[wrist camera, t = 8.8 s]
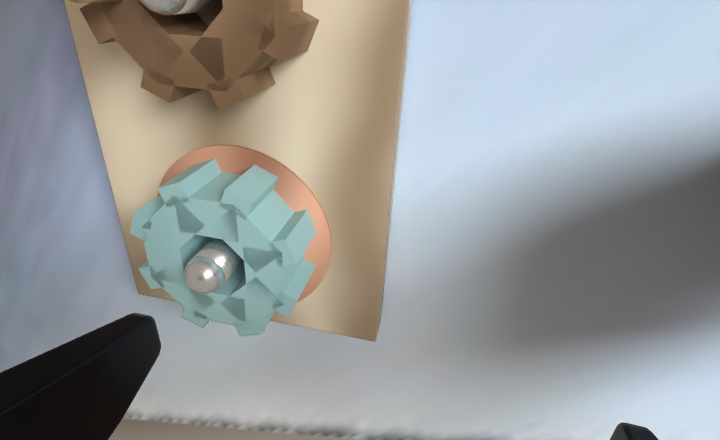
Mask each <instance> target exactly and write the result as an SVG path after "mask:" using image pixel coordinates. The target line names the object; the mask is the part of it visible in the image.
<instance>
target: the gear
mask: <svg viewBox="0 0 720 440" xmlns="http://www.w3.org/2000/svg"><path fill="white" fill-rule="evenodd" d="M70 1H72V2H75V3H89V4H87V5H85V6H84V7H82V8H80V11H81V13H82V15H83V16H84V18H85V20H86V22H87V24H88V25H89V27H90V29H91V31H92V33H93V35H94V36H95V38H96V40H97V42H98V44H102V43H109V42H115V41H116V42H117V43H118V44H119V45H120V46H121V47H122V48H123V49H124V50H125V51H126V52H127V53H128V54H129V55H130V56H131V57H132V58H133V59H134V60H135V61H136V62H137V64H138V65H139V66H140V67H141V68H142V69H143V76H142V81H141V88H143V89H145V90H147V91H149V92H150V93H152V94H154V95H156V96H158V97H160V98H162V99H163V100H165V101H167V102H169V103H171V102H173V101H176V100H178V99H181V98H184V97H186V96H189V95H191V94H194V93H196V92H199V91H201V90H204V89H206V90H210V92H211V94H212V97H213V99H214V101H215V103H216V105H217V107H218V108H221V107H224V106H227V105H230V104H233V103H236V102H238V101H241V100H244V99H247V98H249V97H251V96H253V95H255V94H257V93H259V92H261V91H262V90H264V89H266V88H268V87H270V86H272V85H274V84H276V83H275V81H274V78H273V76H272V73H271V71H270V68H269V66H270V65H271V64H272V63H273V62H274V61H275V60H276V59H278V60H279V61H283V60H286V59H288V58H291V57H293V56H296V55H298V54H301V53H303V52H306V51H308V49H309V46H310V44H311V41H312V38H313V36H314V33H315V30H316V28H317V25H318V22H319V19H317V18H315V17H313V16H311V15H310V14H308V13H306V12H304V11H303V0H222V4H223V9H222V11H221V12H220V13H219V14H218V16H217V17H216V18H215V20H214V21H213V22H212V23H211V25H210V26H209V27H208V25H207V24H206V23H205V22H204V21H203V20H202V19H201V18H200V16H199V15H198V14H197V13H185V14H175V15H163V14H158V13H156V12H154V11H151V10H150V9H148V8H147V7H145V6H144V5H143V4H142V3H141V2H140V1H139V0H70Z"/></svg>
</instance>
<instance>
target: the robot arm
mask: <svg viewBox="0 0 720 440" xmlns="http://www.w3.org/2000/svg"><path fill="white" fill-rule="evenodd" d="M160 349H161V342H160V338H159V335H158V331H157V327H156V323H155V320H154V319H153V318H152V317H151V316H148V315H144V314H139V313H132V314H129V315H127V316H125V317H123V318H120V319H118V320H116V321H114V322H111V323H109V324H107V325H105V326H103V327H100V328H98V329H96V330H94V331H92V332H89V333H87V334H85V335H83V336H81V337H78V338H76V339H74V340H72V341H70V342H67V343H65V344H63V345H61V346H59V347H56V348H54V349H52V350H50V351H47V352H45V353H43V354H41V355H39V356H36V357H34V358H32V359H30V360H28V361H25V362H23V363H21V364H19V365H17V366H14V367H12V368H10V369H8V370H6V371H3V372H1V373H0V440H108V439H109V437H110V436H111V434H112V433H113V431H114V430H115V428H116V427H117V426H118V424H119V423H120V421H121V419H122V418H123V416H124V414H125V413H126V411H127V409H128V408H129V406H130V404H131V403H132V401H133V399H134V397H135V396H136V394H137V392H138V390H139V389H140V387H141V385H142V384H143V382H144V380H145V378H146V377H147V375H148V373H149V371H150V370H151V368H152V366H153V365H154V363H155V361H156V359H157V358H158V356H159V353H160ZM610 440H658V439H657V437H656V436H655V435H654V434H653V433H652V432H651V431H650V430H649V429H647V428H645V427H642V426H637V425H633V424H629V423H620V424H618V426H617V427H616V429H615V431H614V433H613V435H612V436H611V438H610Z"/></svg>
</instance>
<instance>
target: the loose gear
mask: <svg viewBox="0 0 720 440" xmlns="http://www.w3.org/2000/svg"><path fill="white" fill-rule="evenodd" d="M277 180H278V177H277V176H275V175H273V174H271V173H269V172H268V171H266V170H264V169H262V168H260V167H258V166H257V165H253V166H252V167H251V168H250V169H249V170H247V171H246V172H245V173H244V174H243V175H236V174H229V173H223V172H221V170H220V168H219V166H218V164H217V162H216V160H215V159H211V160H208V161H204V162H201V163H198V164H194V165H192V166H191V167H189V168H188V169H186V170H185V171H183V172H182V173H180V174H178V175H177V176H175V177H174V178H172V179H171V180H169V181H168V182H166V183H165V184H163V185H162V186H160V187H158V188H157V189H158V191H159V193H160V195H159V196H158V197H156V198H155V199H153V200H152V201H150V202H149V203H147V204H146V205H144V206H143V207H142V208H140V209H139V210H137V211H136V212H134V214H133V219H132V224H131V228H130V234H132V235H134V236H136V237H138V238H140V239H142V240H143V241H144V245H145V250H146V254H147V259H148V261H146V262H145V263H144V264H143V265H142V266H141V267H139V268H138V269H139V271H140V273H141V274H142V276H143V277H144V279H145V281H146V282H147V284H148V285H149V287H150V288H151V289H156V288H163V289H164V290H166V291H167V292H168V293H169V294H170V295H171V296H172V297H173V298H174V299H175V300H176V301H178V302H179V303H180V304H181V305H182V306H183V307H184V310H183V313H182V316H181V317H183V318H185V319H186V320H188V321H190V322H192V323H194V324H196V325H198V326H200V327H202V328H204V327H205V325H206V324H207V323H208V322H209V320H211V321H216V322H220V323H225V324H230V325H234V326H235V328H236V330H237V332H238V333H239V335H240V336H248V335H257V334H262V332H263V330H264V329H265V327H266V325H267V324H268V322H269V320H270V319H271V317H272V315H273V314H274V312H275V311H277V312H279V313H280V314H282V315H284V316H286V317H289V315H290V313H291V311H292V310H293V308H294V306H295V304H296V302H297V300H298V299H299V297H300V295H301V293H302V291H303V290H304V288H305V286H306V284H307V282H308V280H309V279H310V277H311V275H312V273H313V271H314V269H315V268H316V266H317V265H315V264H313V263H311V262H309V261H307V260H306V259H304V252H305V250H306V249H307V247H308V245H309V244H310V242H311V241H312V239H313V237H314V236H315V234H316V233H317V230H316V228H315V225H314V223H313V221H312V218H311V216H310V213H309V211H308V209H306V210H302V211H297V212H294V211H293V210H292V209H291V208H290V207H289V206H288V204H287V203H286V202H285V201H284V200H283V199H282V198H281V197H280V196H279V195H278V194H277V193H276V192H275V191H274V187H275V184H276V182H277ZM212 238H218V239H223V240H224V241H225V242H226V243H227V244H228V245H229V246H230V247H231V248H232V249H233V250H234V251H235V252H236V253H237V254H238V255H239V256H240V257H241V258H242V259H243V260H244V261H243V262H242V263H241V264H240V265H239V267H238V268H237V269H236V270H235V272H234V273H233V274H232V275H231V276H230V278H229V279H228V280H227V281H226V282H225V284H224V285H223V286H222V287H221V288H220V289H219V290H217V291H215V292H213V293H210V294H200V293H197V292H195V291H193V290H192V289H191V288H190V287H189V286H188V285H187V283H186V281H185V276H184V273H185V268H186V266H187V264H188V262H189V261H190V260H191V259H192V258H193V257H194V256H195V255H196V254H197V253H198V252H199V251H200V250H201V249H202V248H203V247H204V246H205V245H206V244H207V243H208V242H209V241H210V240H211V239H212Z"/></svg>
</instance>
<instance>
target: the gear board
mask: <svg viewBox="0 0 720 440" xmlns="http://www.w3.org/2000/svg"><path fill="white" fill-rule="evenodd" d="M64 2H65V6H66V10H67V14H68V18H69V22H70V26H71V30H72V34H73V38H74V42H75V45H76V49H77V53H78V57H79V61H80V65H81V69H82V73H83V77H84V81H85V85H86V89H87V93H88V97H89V101H90V105H91V108H92V112H93V116H94V120H95V124H96V128H97V132H98V136H99V140H100V144H101V148H102V152H103V156H104V160H105V164H106V167H107V171H108V175H109V179H110V183H111V187H112V191H113V195H114V199H115V203H116V207H117V211H118V215H119V219H120V223H121V227H122V230H123V234H124V238H125V242H126V246H127V250H128V254H129V258H130V262H131V266H132V270H133V274H134V278H135V282H136V286H137V289H138V293H139V294H142V295H147V296H152V297H157V298H162V299H167V300H172V301H176V300H175V299H174V298H173V297H172V296H171V295H170V294H169V293H168V292H167V291H166V290H164V289H163V288H156V289H151V288H150V287H149V285H148V284H147V282H146V281H145V279H144V277H143V276H142V274H141V273H140V271H139V269H138V268H139V267H141V266H142V265H143V264H144V263H145V262H146V261H148V259H147V254H146V250H145V245H144V241H143V240H142V239H140V238H138V237H136V236H134V235H132V234H130V228H131V224H132V219H133V214H134V212H136V211H137V210H139V209H140V208H142V207H143V206H144V205H146V204H147V203H149V202H150V201H152V200H153V199H155V198H156V197H158V196H159V195H160V193H159V191H158V189H157V188H158V187H160V186H162V185H163V184H165V183H166V182H168V181H169V180H171V179H172V178H174V177H175V176H177V175H178V174H180V173H182V172H183V171H185V170H186V169H188V168H189V167H191V166H192V165H194V164H198V163H201V162H204V161H208V160H211V159H215V160H216V162H217V164H218V166H219V168H220V170H221V172H223V173H229V174H236V175H243V174H244V173H245V172H246V171H247V170H249V169H250V168H251V167H252V166H253V165H257V166H258V167H260V168H262V169H264V170H266V171H268V172H269V173H271V174H273V175H275V176H277V177H278V180H277V182H276V184H275V187H274V191H275V192H276V193H277V194H278V195H279V196H280V197H281V198H282V199H283V200H284V201H285V202H286V203H287V204H288V206H289V207H290V208H291V209H292V210H293V211H294V212H297V211H302V210H306V209H308V211H309V213H310V216H311V218H312V221H313V223H314V225H315V228H316V230H317V233H316V234H315V236H314V237H313V239H312V241H311V242H310V244H309V245H308V247H307V249H306V250H305V252H304V259H306V260H307V261H309V262H311V263H313V264H315V265H317V266H316V268H315V269H314V271H313V273H312V275H311V277H310V279H309V280H308V282H307V284H306V286H305V288H304V290H303V291H302V293H301V295H300V297H299V299H298V300H297V302H296V304H295V306H294V308H293V310H292V311H291V313H290V315H289V317H286V316H284V315H282V314H280V313H279V312H277V311H275V312H274V314H273V315H272V317H271V319H270V320H271V321H276V322H280V323H285V324H290V325H295V326H300V327H305V328H310V329H315V330H320V331H325V332H330V333H335V334H340V335H345V336H350V337H355V338H360V339H365V340H369V341H374V342H375V340H376V336H377V332H378V329H379V325H380V321H381V311H382V301H383V291H384V281H385V271H386V261H387V251H388V240H389V230H390V220H391V210H392V200H393V190H394V180H395V170H396V160H397V150H398V140H399V130H400V119H401V109H402V99H403V89H404V79H405V69H406V59H407V49H408V39H409V29H410V19H411V9H412V0H303V11H304V12H306V13H308V14H310V15H311V16H313V17H315V18H317V19H319V22H318V25H317V28H316V30H315V33H314V36H313V38H312V41H311V44H310V46H309V49H308V51H306V52H303V53H301V54H298V55H296V56H293V57H291V58H288V59H286V60H283V61H279V60H278V59H276V60H275V61H274V62H273V63H272V64H271V65H270V66H269V68H270V71H271V73H272V76H273V78H274V81H275V83H276V84H274V85H272V86H270V87H268V88H266V89H264V90H262V91H261V92H259V93H257V94H255V95H253V96H251V97H249V98H247V99H244V100H241V101H238V102H236V103H233V104H230V105H227V106H224V107H221V108H218V107H217V105H216V103H215V101H214V99H213V97H212V94H211V92H210V90H206V89H204V90H201V91H199V92H196V93H194V94H191V95H189V96H186V97H184V98H181V99H178V100H176V101H173V102H171V103H169V102H167V101H165V100H163V99H162V98H160V97H158V96H156V95H154V94H152V93H150V92H149V91H147V90H145V89H143V88H141V81H142V76H143V69H142V68H141V67H140V66H139V65H138V64H137V62H136V61H135V60H134V59H133V58H132V57H131V56H130V55H129V54H128V53H127V52H126V51H125V50H124V49H123V48H122V47H121V46H120V45H119V44H118V43H117V42H116V41H115V42H109V43H102V44H98V42H97V40H96V38H95V36H94V35H93V33H92V31H91V29H90V27H89V25H88V24H87V22H86V20H85V18H84V16H83V15H82V13H81V11H80V8H82V7H84V6H85V5H87V4H89V3H75V2H72V1H70V0H64ZM222 9H223V7H222V8H221V9H218V10H215V11H206V12H196V13H197V14H198V15H199V16H200V18H201V19H202V20H203V21H204V22H205V23H206V24H207V25H208V27H209V26H210V25H211V23H212V22H213V21H214V20H215V18H216V17H217V16H218V14H219V13H220V12H221V11H222ZM177 302H178V301H177Z"/></svg>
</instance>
